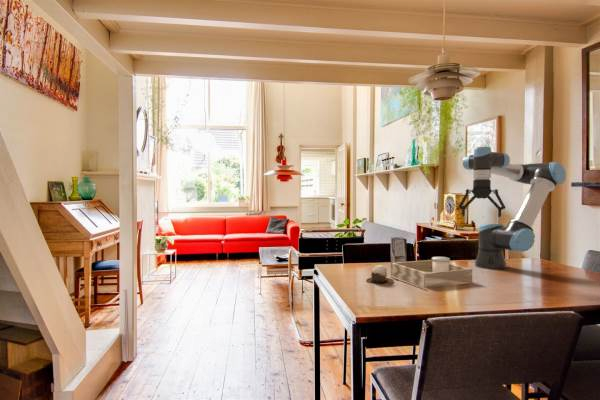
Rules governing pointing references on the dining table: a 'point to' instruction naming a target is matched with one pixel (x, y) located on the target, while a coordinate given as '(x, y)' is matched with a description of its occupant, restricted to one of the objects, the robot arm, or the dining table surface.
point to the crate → (430, 274)
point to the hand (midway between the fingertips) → (481, 223)
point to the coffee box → (398, 249)
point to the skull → (379, 276)
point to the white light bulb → (440, 264)
